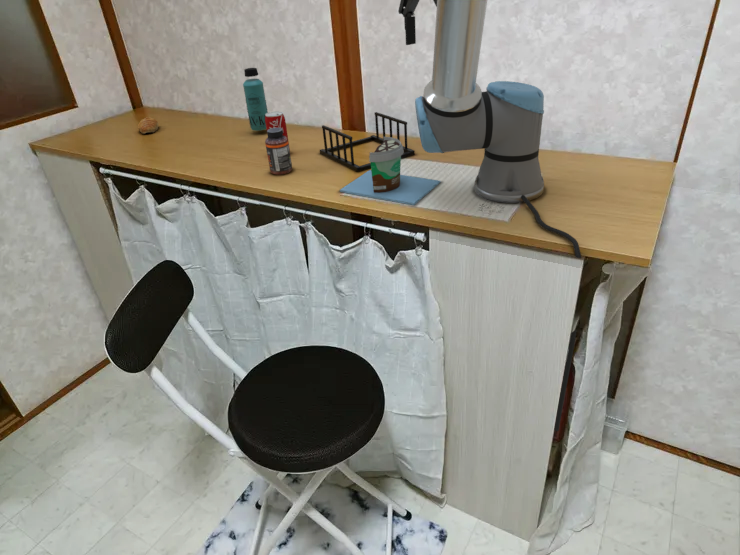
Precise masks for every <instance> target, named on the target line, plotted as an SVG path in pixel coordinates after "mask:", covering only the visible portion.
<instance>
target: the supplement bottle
mask: <svg viewBox="0 0 740 555" xmlns="http://www.w3.org/2000/svg"><path fill="white" fill-rule="evenodd" d="M266 133H267V134H266V135H267V137H266V139H265V140H264V144H265V149H266V155H267V161H268V167H269V171H270V173H271V174H272V175H275V176H281V175H286V174H289V173H290V172H292V170H293V163H292V158H291V149H290V150H289V148H290V142H289V143H288V141H289V138H288V139H287V137H286V136H284V135H283V130H282V128H271V129H268V130H267V129H266Z"/></svg>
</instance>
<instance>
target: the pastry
mask: <svg viewBox="0 0 740 555" xmlns="http://www.w3.org/2000/svg"><path fill="white" fill-rule="evenodd" d="M137 129H138V131H139V132H140V133H141V134H143V135H145V134H146V133H155V132H156V131H158V129H159V122H158V121H157V119H155V118H153V117H150V116H146V117H145V118H142V119H141V120H140V121H139V123H138V125H137Z"/></svg>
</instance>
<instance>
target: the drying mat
mask: <svg viewBox="0 0 740 555" xmlns="http://www.w3.org/2000/svg"><path fill="white" fill-rule="evenodd" d="M439 184H441V180H437V179H431V178H425V177H419V176H418V177H417V176H412V175H405V174H400V186H399V187H398V188H396V189H394V190H392V191H388V192H380V193H374V190H373V181H372V172H371V169H368V170H367V171H366V172H364V173H363V174H362V175H359V176H358V177H357V178H355V179H354V180H353V181H351V182H350V183H348V184H346V185H345V186H342V188H340V189H339V192H340V193H345V194H349V195H356V196H362V197H367V198H370V199H371V198H372V199H378V200H382V201H388V202H389V201H390V202H394V203H400V204H405V205H411V206H415V205H416V204H417V203H419V202H420V201H421V200H423V198H424V197H425V196H427V195H428V194H429V193H431V191H432V190H434V189H435V188H437V186H439Z"/></svg>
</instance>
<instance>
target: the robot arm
mask: <svg viewBox="0 0 740 555" xmlns="http://www.w3.org/2000/svg"><path fill="white" fill-rule="evenodd" d="M432 1H433V3H434V5H435V7H436V11H435V12H436V13H435V28H434V43H433V44H434V45H433V60H432V73H431V80H430V81H429V82H427V84H425V87H424V89H423V95H419V97H416V98H415V100H414V101H415V102H414V107H415V115H416V122H417V128H418V133H419V140H420V144H421V147H422V150H423V151H425V152H426V153H429V154H437V153H438V154H439V153H440V154H445V153H451V152H461V151H471V150H473V151H474V150H483V149H484V150H483V158H482V161H481V164H480V167H479V170H478V172H477V173H478V174H477V175H476V176H475V180H474V192H475V193H476V194H477V195H478V196H479V197H481V198H483V199H485V200H488V201H491V202H495V203H507V204H514V203H515V204H516V203H524V204H525V205H526V206H527V207H528V209H529V210H530V211H531V212H532V214H533V215H534V218H535V220H536V223H537V224H538V225H539V226H540V227H541V228H542V229H544V230H545V231H548V232H550V233H553V234H556V235H558V236H560V237H563V238H565V239H566V240H567V241H568V242H570V243H571V244H572V246H573V251H574V256H575V258H576V259H581V258H582V255H581V250H580V245H579V243H578V240H577V239H576V238H575V237H573V236H572V235H571V234H569V233H568V232H565V231H563V230H561V229H558V228H556V227H552V226H551V225H548V224H547V223H545V222H544V221H543V220H542V218H541V215H540V214H539V212H538V209H537V208H536V207H535V206H534V204H533V203H532V202H531V201H533V200H536V199H537V198H539V197H541V196H542V195H543V193H544V189H545V187H544V186H545V181H544V176H542V169H541V164H540V160H539V153H540V145H541V135H542V127H543V126H542V125H543V118H544V113H545V109H544V102H545V96H544V92H543V91H542V89H541V88H539V87H538V86H535V85H532V84H529V83H524V82H516V81H511V80H510V81H507V80H497V81H491V82H489V83H487V87H486V90H485V91H482V88H481V86H480V85H479V84H478V83H477V77H478V72H479V71H478V70H479V62H480V56H481V55H480V54H481V49H482V40H483V34H484V27H485V19H486V12H487V5H488V0H432ZM419 2H420V0H400V2H399V6H398V11H397V12H398V14H399V15H402V17H403V18H404V19H403V20H404V21H403V22H404V31H405V32H404V34H405V46H411V45H416V44H417V41H416V40H417V38H416V37H417V36H416V34H417V33H416V14H415V11H416V9H417V7H418V5H419ZM576 337H577V329H574V330H573V331H571V333H570V338H569V344H568V349H567V350H568V351H567V355H566V361H565V366H564V373H563V378H562V382H561V388H560V394H559V400H558V405H557V412H556V419H555V423H554V431H555V432H559V430H560V426H561V420H562V414H563V408H564V402H565V397H566V391H567V386H568V381H569V377H570V376H569V375H570V370H571V366H572V360H573V354H574V350H575V349H574V348H575V342H576Z"/></svg>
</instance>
